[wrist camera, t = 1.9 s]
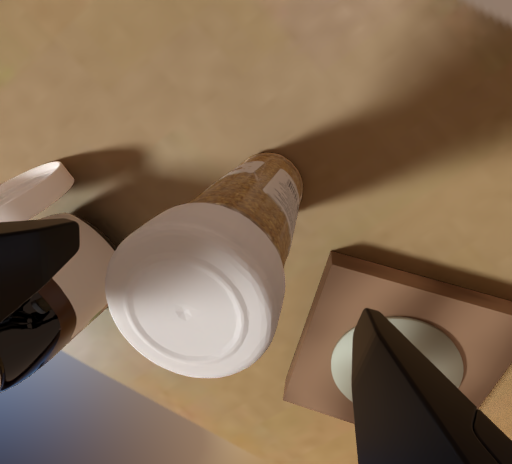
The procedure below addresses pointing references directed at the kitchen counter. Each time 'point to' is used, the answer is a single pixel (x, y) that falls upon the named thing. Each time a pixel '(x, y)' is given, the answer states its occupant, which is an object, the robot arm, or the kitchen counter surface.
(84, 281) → the spread jar
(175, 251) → the sprinkles bottle
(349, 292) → the walnut plinth
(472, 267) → the kitchen counter surface
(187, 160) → the kitchen counter surface
